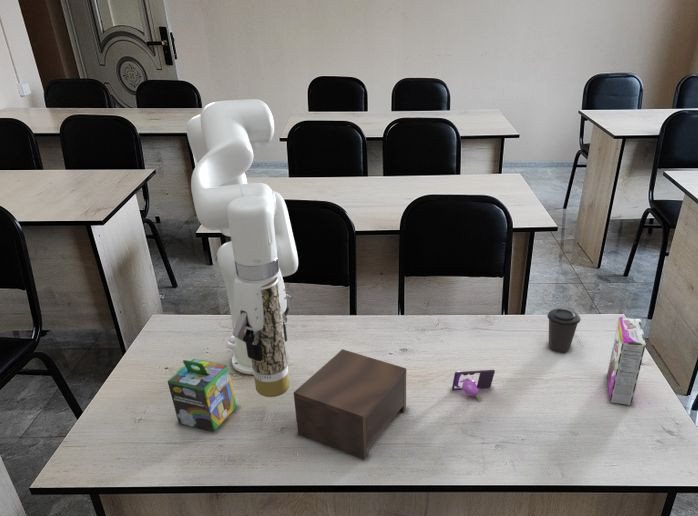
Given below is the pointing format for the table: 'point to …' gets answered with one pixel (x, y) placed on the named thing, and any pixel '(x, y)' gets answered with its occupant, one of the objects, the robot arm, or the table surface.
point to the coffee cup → (562, 329)
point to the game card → (469, 384)
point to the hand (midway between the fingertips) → (267, 348)
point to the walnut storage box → (350, 402)
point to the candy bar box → (625, 360)
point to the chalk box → (202, 394)
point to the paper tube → (271, 346)
